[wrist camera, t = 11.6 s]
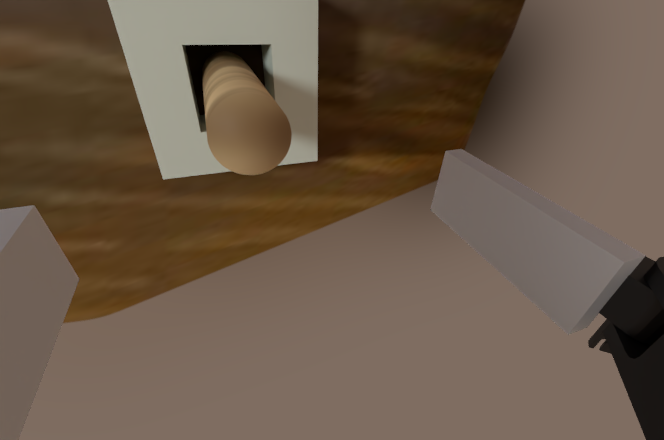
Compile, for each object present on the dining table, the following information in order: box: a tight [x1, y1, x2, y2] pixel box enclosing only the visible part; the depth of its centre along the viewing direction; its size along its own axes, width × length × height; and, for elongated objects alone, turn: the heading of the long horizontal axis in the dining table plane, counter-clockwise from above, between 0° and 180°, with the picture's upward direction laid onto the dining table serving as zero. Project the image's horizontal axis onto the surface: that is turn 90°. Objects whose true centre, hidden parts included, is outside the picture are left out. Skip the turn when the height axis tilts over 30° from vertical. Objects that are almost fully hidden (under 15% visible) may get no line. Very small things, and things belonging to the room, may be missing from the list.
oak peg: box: [202, 51, 292, 175], centre depth 23 cm, size 4×4×16 cm
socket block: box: [108, 0, 318, 179], centre depth 27 cm, size 14×14×5 cm
